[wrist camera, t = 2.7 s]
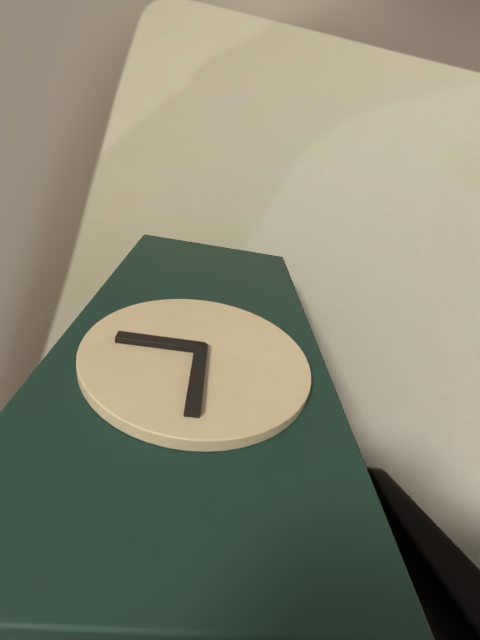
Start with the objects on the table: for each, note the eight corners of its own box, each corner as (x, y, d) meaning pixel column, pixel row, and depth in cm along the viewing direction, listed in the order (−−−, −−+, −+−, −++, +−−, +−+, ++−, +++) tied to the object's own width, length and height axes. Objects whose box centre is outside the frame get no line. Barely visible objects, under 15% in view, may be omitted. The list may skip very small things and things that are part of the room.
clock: (243, 552, 16) (461, 1122, 3) (98, 541, 15) (-390, 1217, 2) (267, 284, 20) (411, 39, 7) (151, 266, 19) (72, -43, 6)
